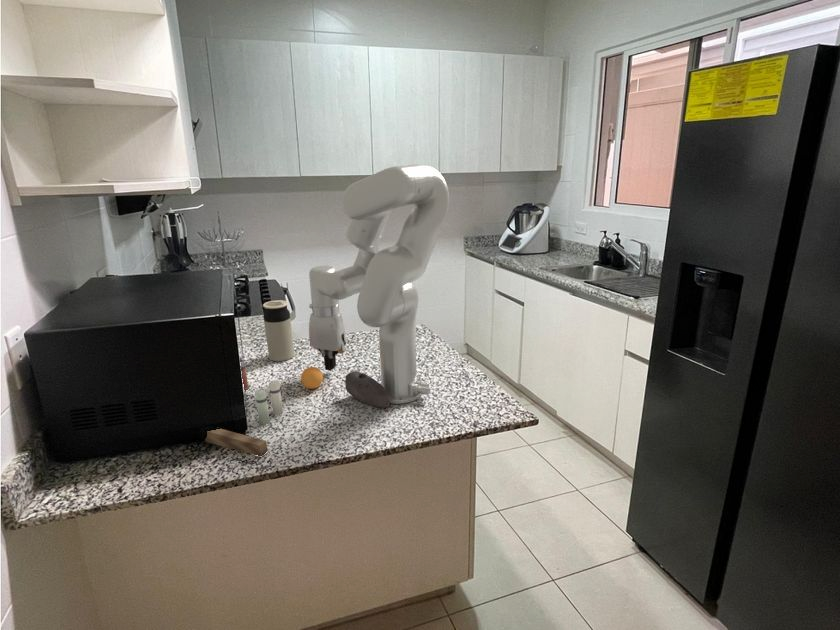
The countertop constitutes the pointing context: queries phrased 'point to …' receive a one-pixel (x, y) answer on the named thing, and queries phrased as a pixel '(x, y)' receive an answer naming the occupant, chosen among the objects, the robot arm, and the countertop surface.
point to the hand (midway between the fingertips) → (330, 368)
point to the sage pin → (262, 407)
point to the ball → (311, 377)
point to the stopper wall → (237, 441)
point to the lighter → (244, 375)
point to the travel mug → (278, 330)
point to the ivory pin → (276, 397)
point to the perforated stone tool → (366, 389)
